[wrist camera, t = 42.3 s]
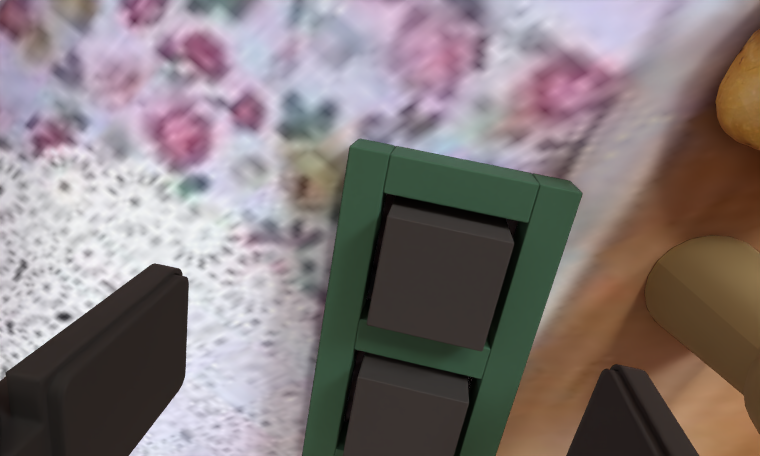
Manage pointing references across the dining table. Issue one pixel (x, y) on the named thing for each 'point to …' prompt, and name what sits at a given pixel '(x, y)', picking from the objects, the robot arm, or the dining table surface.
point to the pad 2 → (405, 409)
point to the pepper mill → (713, 308)
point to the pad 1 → (440, 272)
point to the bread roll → (742, 96)
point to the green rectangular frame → (488, 368)
